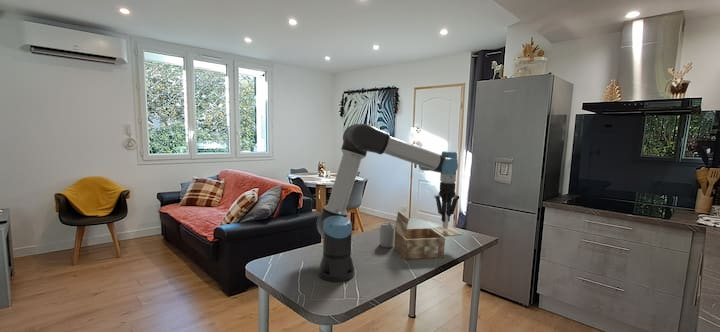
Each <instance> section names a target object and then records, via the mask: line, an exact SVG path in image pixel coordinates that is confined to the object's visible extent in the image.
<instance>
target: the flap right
mask: <svg viewBox="0 0 720 332" xmlns="http://www.w3.org/2000/svg"><path fill="white" fill-rule="evenodd" d="M432 229H433V230H434V231H436V232H437V233H439V234H440V235H441V236H443V237H444V238H445V237H446V238H447V237H454V236H463V233H462V232H460V231H458V230H456V228H453V227H451V226H450V225H448V229H445V228H443V225H442V226H434V227H432Z"/></svg>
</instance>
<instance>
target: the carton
mask: <svg viewBox="0 0 720 332" xmlns="http://www.w3.org/2000/svg"><path fill="white" fill-rule="evenodd" d="M445 245H446V238H445V236H443V235H442V234H440V233H439V232H437V231H436V230H435V229H433V228H430V227H428V228H427V227H425V228H424V227H423V228H422V227H421V228H419V227H417V228H407V230H406V235H405V238H404V237H403V236H402V235H401V234H400V233H399V232H398V231H396V230H395V229H394V245H393V246H394V250H395V251H396V252H397V253H398V254H399V255H400V256H401V258H402V259H403V260H404V261H411V260H412V261H414V260H432V259H444V258H445Z"/></svg>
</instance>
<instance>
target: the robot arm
mask: <svg viewBox="0 0 720 332" xmlns="http://www.w3.org/2000/svg"><path fill="white" fill-rule="evenodd" d="M342 140H343V141H342V145H341V148H340V150H341V152H342V157H341V160H340V164H339V166H338V169H337V173H336V176H335V179H334V183H333V186H332V188H331V193H330V196H329V199H328V202H327V204H326V205H323V208H322V210H321V213H320V214H319V215H318V217H317V219H316V229H317V232H318V233H319V235H320V237H321V238H322V241H323V242H322V243H323V246H322V249H323V250H322V258H321V260H320V264H319V267H318V274H319V275H318V276H319V277H320V279H322V280H324V281H327V282H334V283H335V282H338V283H339V282H344V281H348V280H351V279H353V278H354V276H355V266H354V263H353V258H352V232H353V225H352V221H351V219H349V217H348V215H349V214H348V212H347V207H348V204H349V201H350V196H351V194H352V191H353V187H354V184H355V182H356V178H357V175H358V171H359V168H360V164H361V162H362V159H364V158H366V156H367V153H369V152H370V153H373V154H375V153H376V154H378V155H383V154H385V155H388V156H390V157H394V158H397V159H398V160H401V161H402V160H403V161H404V162H409V163H411V164H414V165H418V168H419V170H421V171H426V172H427V171H430V172H435V173H440V176H439V177H440V180H439V181H440V182H439V192H438V194H436V195H435V194H434V196H433V197H434V199H435V201H436V209H437V213H438V214H439V215H441V222H442V226H443V228H445V229H448V226H449V222H450V219H451V218H450V217H451V216H452V215H454V214H455V210H456V207H457V204H458V201H459V199H460V196H459V195H458V194H456V181H457V179H456V178H457V171H458V169H459V168H458V167H459V165H458V153H457V152H456V151H450V150H449V151H448V150H447V151H446V150H444V151H441V154H439V153H436V152H433V151H432V150H431V151H430V150H429V149H425V148H423V147H420V146H417V145H414V144H412V143H409V142H406V141H403V140H401V139H398V138H395V137H392V136H390V133H389V132H386V131H384V130H381V129H379V128H377V127H375V126H374V125H373V126H372V125H371V124H367V123H354V124H351V125H349V126H348V127H347V128H346V129H345V130H344V131H343V134H342Z"/></svg>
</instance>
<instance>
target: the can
mask: <svg viewBox="0 0 720 332" xmlns="http://www.w3.org/2000/svg"><path fill="white" fill-rule="evenodd" d="M394 242H395V226H394V223H392V222H387V221H386V222H381V225H380V226H379V245H380V247H382V248H392V247H393V246H394Z"/></svg>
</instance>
